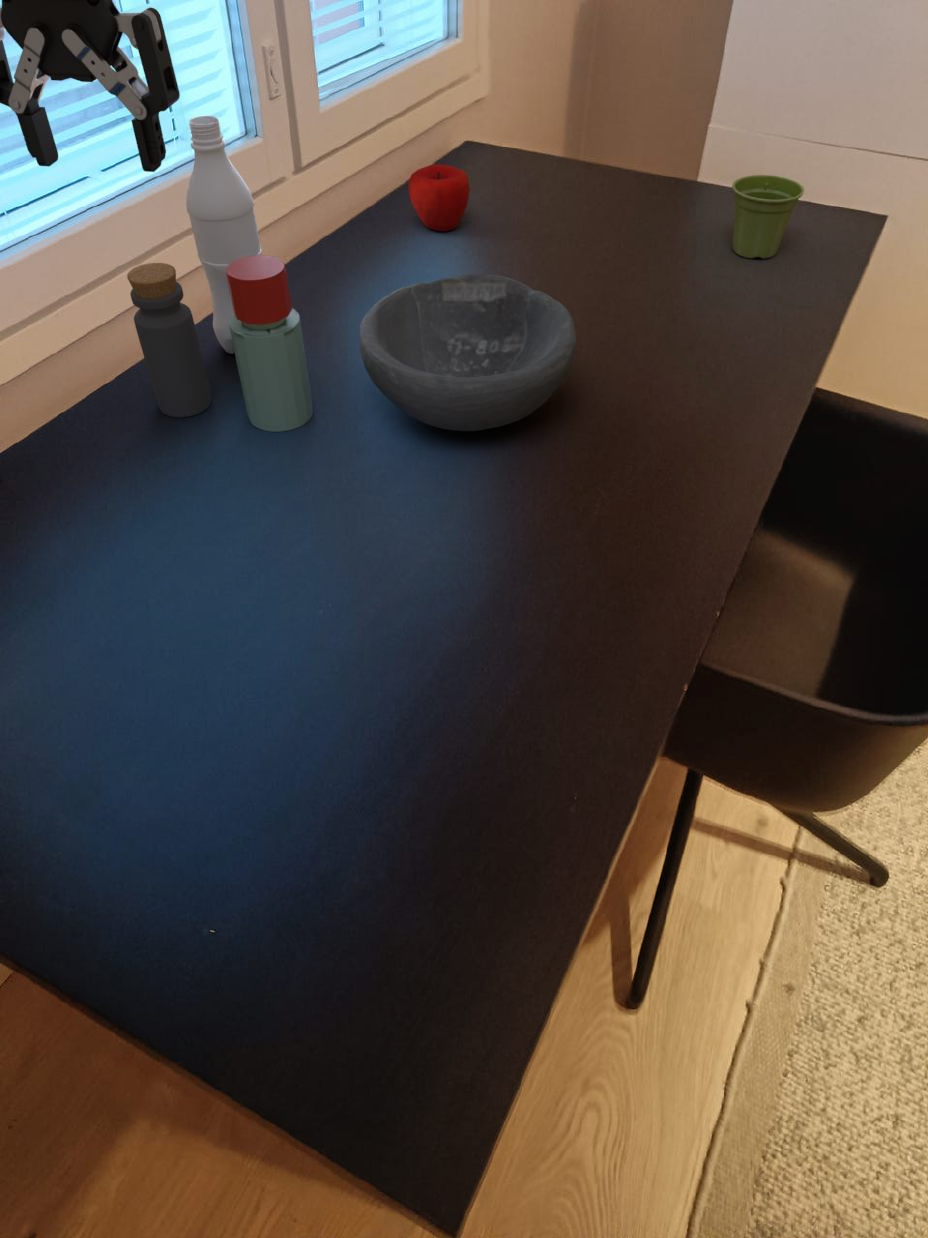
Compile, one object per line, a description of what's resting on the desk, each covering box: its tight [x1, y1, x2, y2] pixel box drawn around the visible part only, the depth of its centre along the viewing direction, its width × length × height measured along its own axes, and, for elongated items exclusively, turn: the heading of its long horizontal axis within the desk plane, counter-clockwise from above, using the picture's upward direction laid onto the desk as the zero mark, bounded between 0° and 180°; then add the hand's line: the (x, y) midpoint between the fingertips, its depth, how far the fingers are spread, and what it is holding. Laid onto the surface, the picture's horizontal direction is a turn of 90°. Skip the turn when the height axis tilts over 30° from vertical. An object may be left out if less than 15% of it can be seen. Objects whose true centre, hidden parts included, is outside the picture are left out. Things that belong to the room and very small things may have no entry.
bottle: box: [126, 262, 213, 418], centre depth 94 cm, size 6×6×15 cm
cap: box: [226, 254, 293, 325], centre depth 88 cm, size 6×6×4 cm
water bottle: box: [185, 115, 263, 355], centre depth 100 cm, size 7×7×25 cm
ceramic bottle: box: [229, 307, 314, 433], centre depth 92 cm, size 7×7×16 cm
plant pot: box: [731, 174, 805, 260], centre depth 124 cm, size 9×9×9 cm
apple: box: [408, 164, 470, 232], centre depth 131 cm, size 9×9×8 cm
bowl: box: [359, 272, 577, 432], centre depth 96 cm, size 23×22×10 cm
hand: (100, 165), depth 70 cm, fingers open, 8 cm apart
